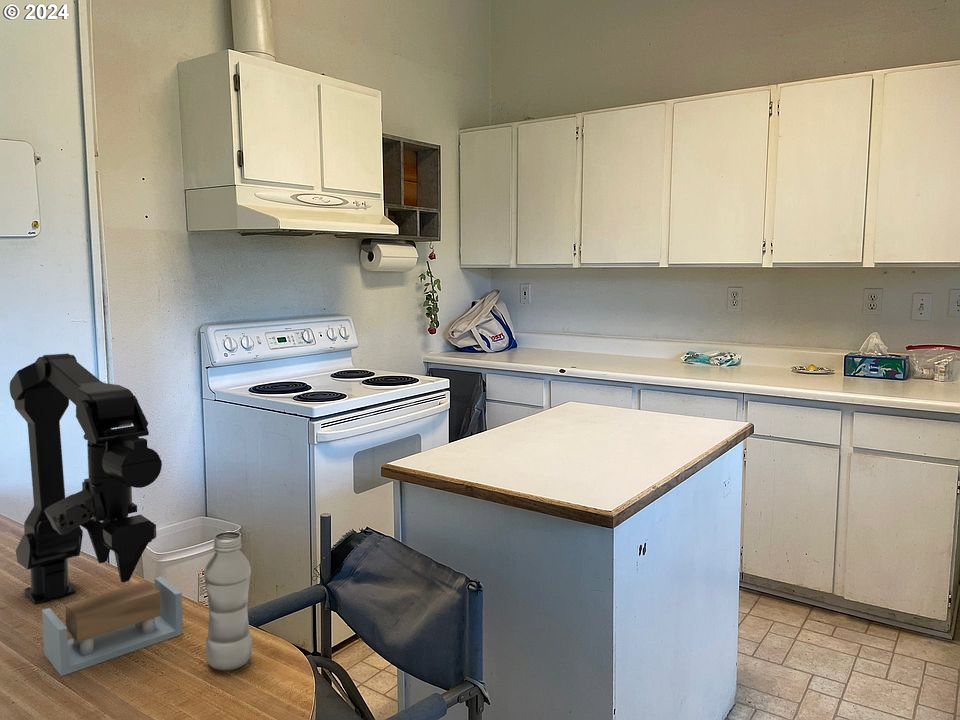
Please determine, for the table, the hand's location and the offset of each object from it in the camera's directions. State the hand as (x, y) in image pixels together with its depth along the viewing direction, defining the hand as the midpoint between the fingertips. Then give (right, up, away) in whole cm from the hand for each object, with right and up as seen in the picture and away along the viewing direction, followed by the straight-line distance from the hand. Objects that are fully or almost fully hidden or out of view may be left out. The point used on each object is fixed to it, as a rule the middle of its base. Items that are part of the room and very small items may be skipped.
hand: (113, 571), depth 110 cm
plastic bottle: (+19, -13, -3) cm, 23 cm away
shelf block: (0, -8, +1) cm, 8 cm away
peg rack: (-1, -12, +2) cm, 12 cm away
